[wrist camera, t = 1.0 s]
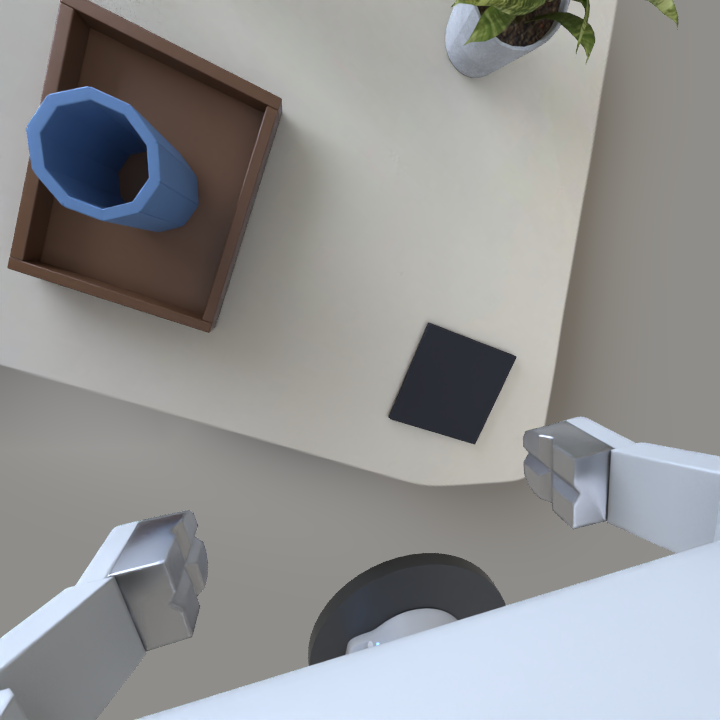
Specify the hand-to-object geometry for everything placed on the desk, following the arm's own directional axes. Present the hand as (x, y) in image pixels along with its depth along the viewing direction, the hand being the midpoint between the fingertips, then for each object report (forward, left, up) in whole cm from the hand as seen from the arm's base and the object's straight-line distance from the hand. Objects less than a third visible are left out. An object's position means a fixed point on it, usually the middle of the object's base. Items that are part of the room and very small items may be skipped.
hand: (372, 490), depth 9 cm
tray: (+6, +14, -25) cm, 29 cm away
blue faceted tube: (+6, +14, -25) cm, 29 cm away
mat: (-1, -15, -25) cm, 30 cm away
